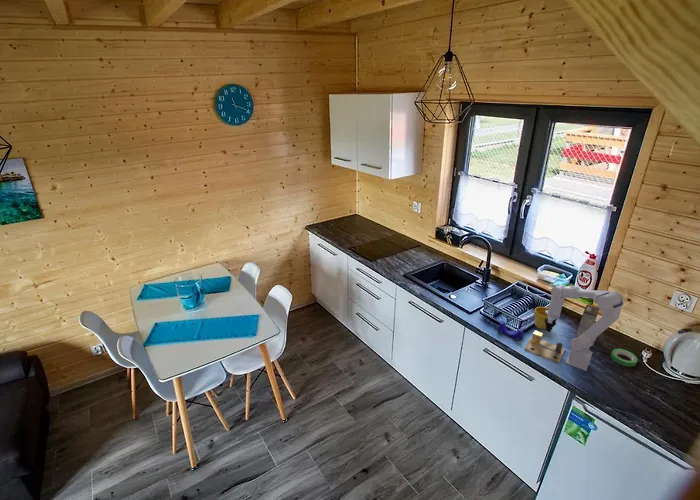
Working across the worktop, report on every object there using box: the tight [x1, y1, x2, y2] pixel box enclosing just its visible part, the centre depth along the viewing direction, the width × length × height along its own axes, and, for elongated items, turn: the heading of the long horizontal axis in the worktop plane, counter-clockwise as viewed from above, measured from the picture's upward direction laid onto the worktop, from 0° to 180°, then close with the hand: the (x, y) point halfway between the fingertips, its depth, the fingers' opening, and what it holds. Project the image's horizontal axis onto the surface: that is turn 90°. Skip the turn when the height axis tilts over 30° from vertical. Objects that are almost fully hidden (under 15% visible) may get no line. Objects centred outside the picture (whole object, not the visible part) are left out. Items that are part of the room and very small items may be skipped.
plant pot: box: [533, 306, 549, 330], centre depth 227 cm, size 10×10×10 cm
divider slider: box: [531, 330, 544, 349], centre depth 210 cm, size 4×8×6 cm, turn 142°
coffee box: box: [576, 304, 600, 337], centre depth 219 cm, size 9×6×16 cm
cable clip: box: [497, 320, 524, 341], centre depth 220 cm, size 12×4×6 cm, turn 48°
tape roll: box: [610, 348, 638, 368], centre depth 203 cm, size 11×11×3 cm
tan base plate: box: [523, 335, 566, 364], centre depth 208 cm, size 17×13×6 cm
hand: (549, 327), depth 211 cm, fingers open, 7 cm apart
